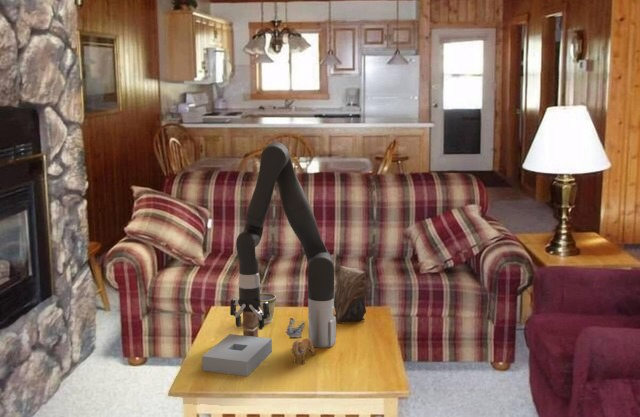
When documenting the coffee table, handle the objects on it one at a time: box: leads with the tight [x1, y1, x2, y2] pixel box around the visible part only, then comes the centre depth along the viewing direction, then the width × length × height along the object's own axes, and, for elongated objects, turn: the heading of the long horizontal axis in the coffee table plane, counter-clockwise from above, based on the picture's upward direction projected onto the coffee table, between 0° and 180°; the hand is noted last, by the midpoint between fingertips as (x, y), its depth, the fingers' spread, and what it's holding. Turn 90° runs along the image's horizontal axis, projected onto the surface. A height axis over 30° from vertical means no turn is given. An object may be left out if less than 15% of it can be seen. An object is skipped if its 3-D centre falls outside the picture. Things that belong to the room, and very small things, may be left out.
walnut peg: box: [242, 311, 259, 337], centre depth 284 cm, size 4×4×12 cm
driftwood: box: [285, 317, 306, 339], centre depth 299 cm, size 21×7×2 cm, turn 174°
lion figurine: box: [291, 337, 316, 365], centre depth 267 cm, size 15×5×9 cm, turn 164°
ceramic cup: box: [258, 292, 277, 325], centre depth 308 cm, size 13×10×10 cm
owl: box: [334, 265, 368, 324], centre depth 309 cm, size 13×13×20 cm
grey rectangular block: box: [201, 333, 273, 377], centre depth 267 cm, size 16×22×5 cm
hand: (249, 327), depth 284 cm, fingers open, 8 cm apart
